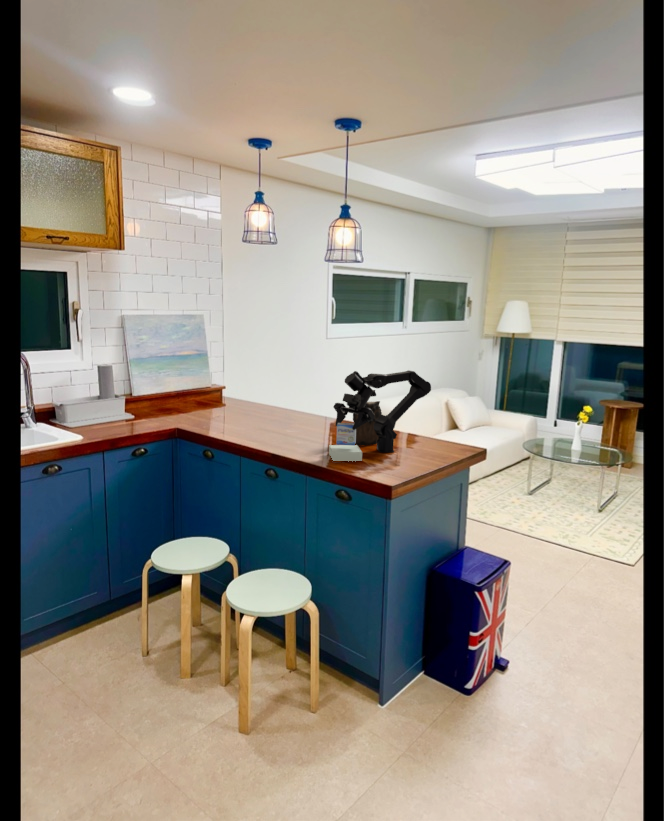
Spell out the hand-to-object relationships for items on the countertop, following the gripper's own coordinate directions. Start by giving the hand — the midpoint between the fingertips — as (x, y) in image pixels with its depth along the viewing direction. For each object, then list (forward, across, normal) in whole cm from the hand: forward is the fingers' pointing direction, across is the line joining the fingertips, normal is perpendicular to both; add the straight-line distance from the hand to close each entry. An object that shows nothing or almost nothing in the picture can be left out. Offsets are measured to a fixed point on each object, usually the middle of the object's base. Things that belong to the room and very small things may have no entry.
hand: (344, 427), depth 233 cm
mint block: (+8, 0, +10) cm, 13 cm away
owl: (-11, -12, +31) cm, 35 cm away
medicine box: (+4, 0, +6) cm, 8 cm away
